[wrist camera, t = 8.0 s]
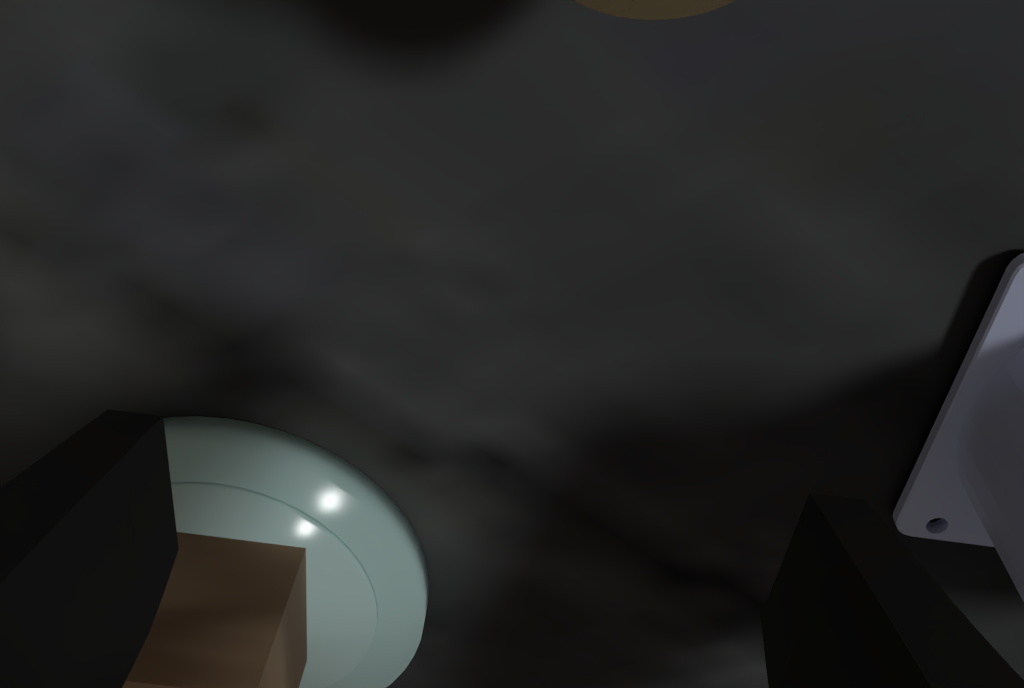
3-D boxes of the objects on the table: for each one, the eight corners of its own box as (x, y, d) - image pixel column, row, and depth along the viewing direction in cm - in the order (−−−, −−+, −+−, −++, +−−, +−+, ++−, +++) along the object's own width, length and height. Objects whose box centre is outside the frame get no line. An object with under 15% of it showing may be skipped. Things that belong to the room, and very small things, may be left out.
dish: (443, 446, 23) (437, 477, 22) (417, 713, 29) (412, 747, 28) (11, 389, 23) (-15, 419, 22) (73, 669, 29) (55, 702, 28)
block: (305, 547, 24) (254, 696, 20) (307, 659, 26) (261, 811, 22) (133, 525, 24) (49, 671, 20) (150, 640, 26) (78, 789, 22)
